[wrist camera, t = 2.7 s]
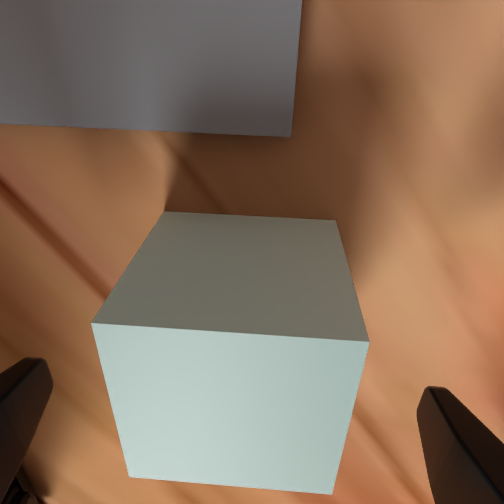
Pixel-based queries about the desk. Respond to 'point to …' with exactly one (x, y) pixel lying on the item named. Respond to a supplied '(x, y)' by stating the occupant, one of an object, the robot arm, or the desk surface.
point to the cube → (234, 352)
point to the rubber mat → (150, 64)
